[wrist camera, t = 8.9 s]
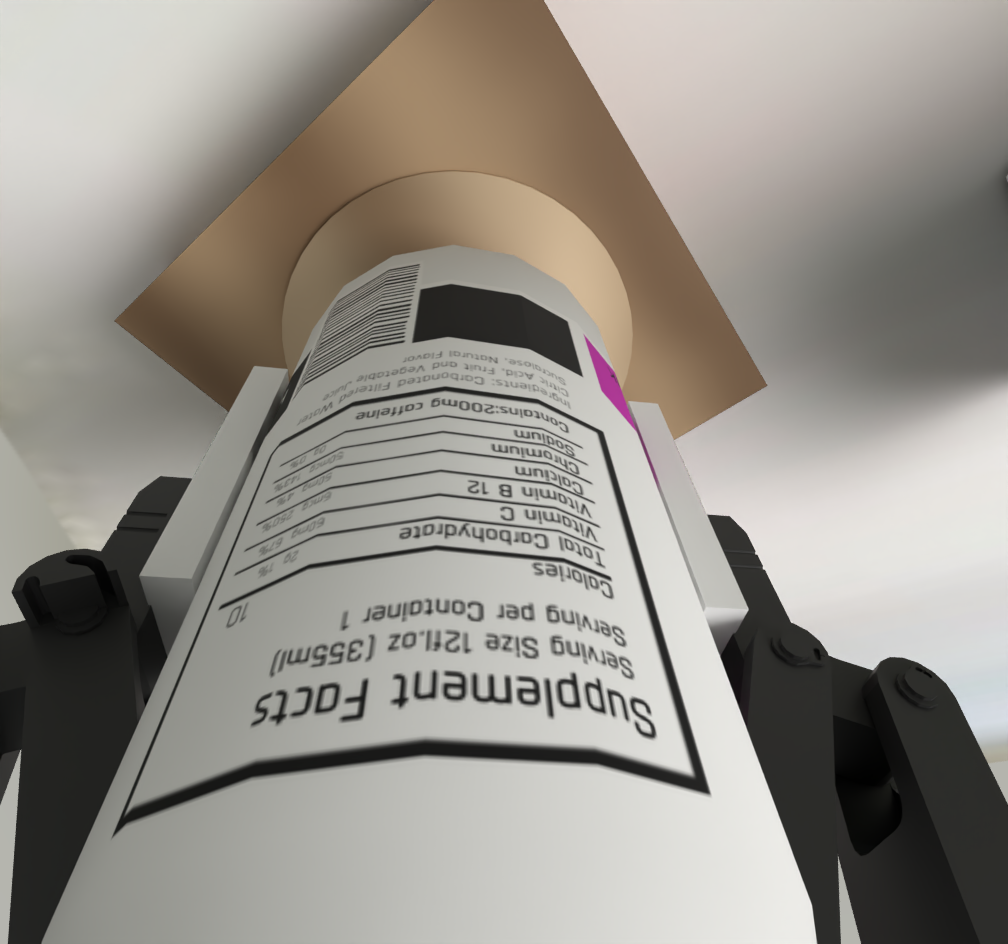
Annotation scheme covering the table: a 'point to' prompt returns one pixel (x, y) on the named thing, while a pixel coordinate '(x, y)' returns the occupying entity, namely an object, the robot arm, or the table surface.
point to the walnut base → (453, 216)
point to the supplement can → (443, 665)
